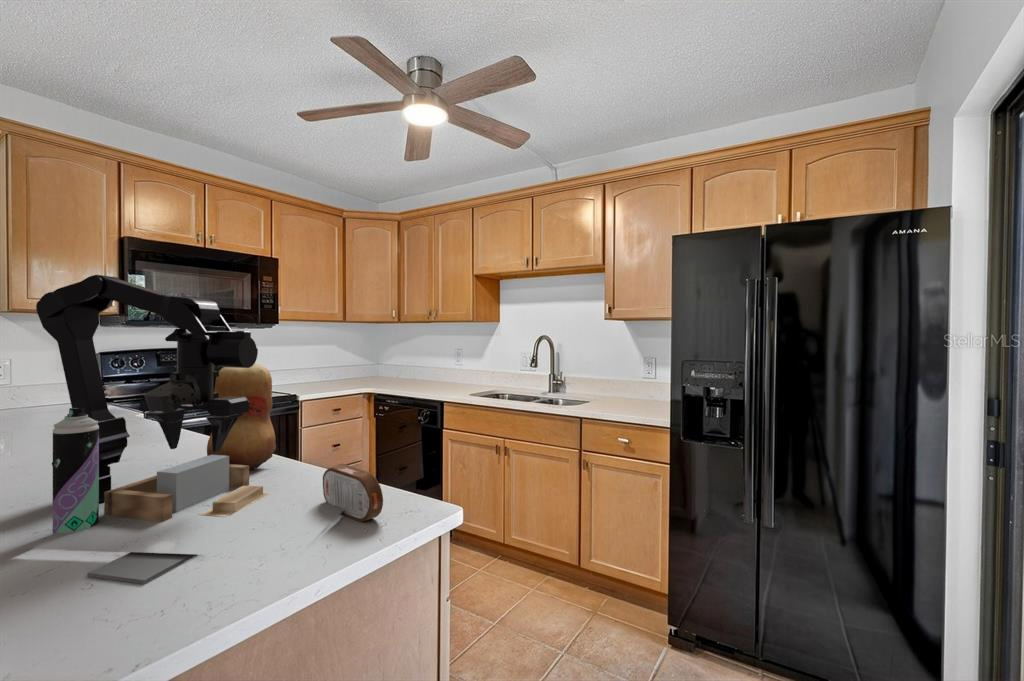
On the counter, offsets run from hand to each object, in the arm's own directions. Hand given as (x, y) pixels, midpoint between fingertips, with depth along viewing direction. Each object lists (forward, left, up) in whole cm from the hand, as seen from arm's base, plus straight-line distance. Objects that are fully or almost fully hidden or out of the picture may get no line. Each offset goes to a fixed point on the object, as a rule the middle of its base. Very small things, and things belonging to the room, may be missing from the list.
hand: (194, 450), depth 90 cm
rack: (-2, 0, -10) cm, 11 cm away
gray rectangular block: (0, 0, -10) cm, 10 cm away
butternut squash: (-7, +21, -11) cm, 24 cm away
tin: (+30, +3, -11) cm, 32 cm away
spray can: (-8, -14, -11) cm, 20 cm away
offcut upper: (+9, +1, -9) cm, 13 cm away
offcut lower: (+9, 0, -11) cm, 14 cm away
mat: (+12, -16, -10) cm, 23 cm away
